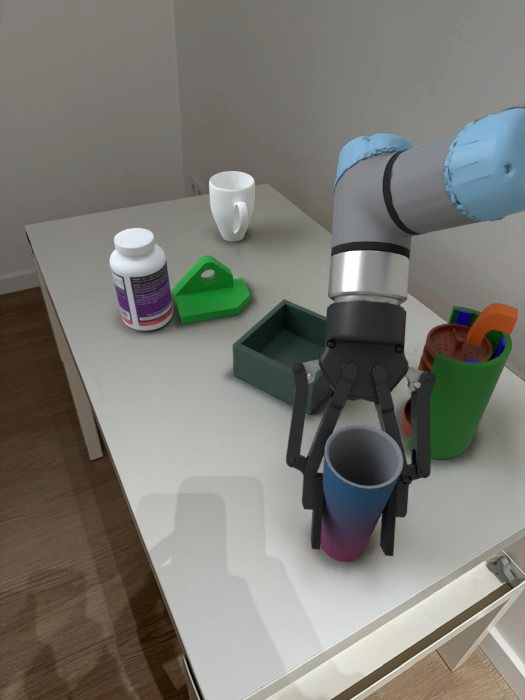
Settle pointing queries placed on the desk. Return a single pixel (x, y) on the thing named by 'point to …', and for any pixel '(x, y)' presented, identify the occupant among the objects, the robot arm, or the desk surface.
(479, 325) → the coaster caddy
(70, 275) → the desk surface
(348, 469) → the cup
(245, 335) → the holder
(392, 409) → the robot arm
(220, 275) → the bracket
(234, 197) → the mug
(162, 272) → the pill bottle
